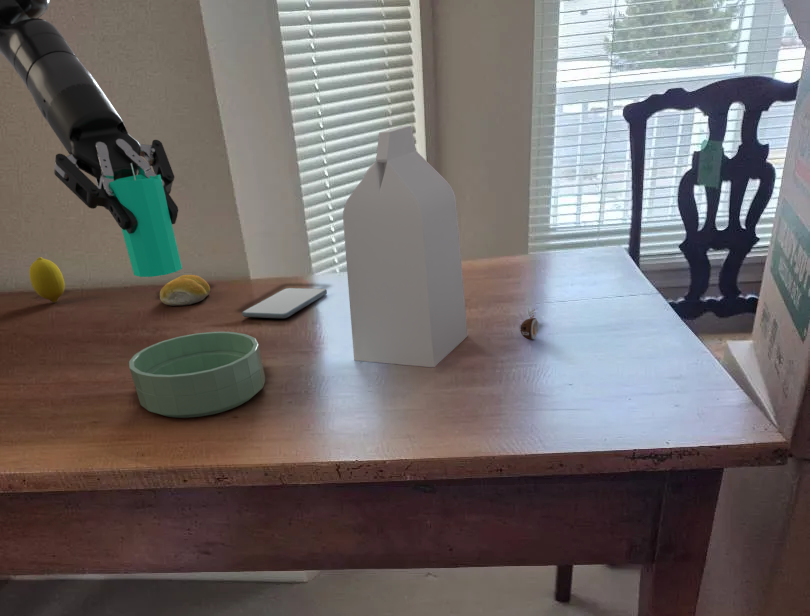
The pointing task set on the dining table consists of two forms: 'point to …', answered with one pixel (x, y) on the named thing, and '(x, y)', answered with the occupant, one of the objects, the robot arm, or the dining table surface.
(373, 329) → the milk
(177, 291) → the bread roll
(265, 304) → the smartphone
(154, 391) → the bowl
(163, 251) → the candle
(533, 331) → the chocolate
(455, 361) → the dining table surface
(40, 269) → the lemon
